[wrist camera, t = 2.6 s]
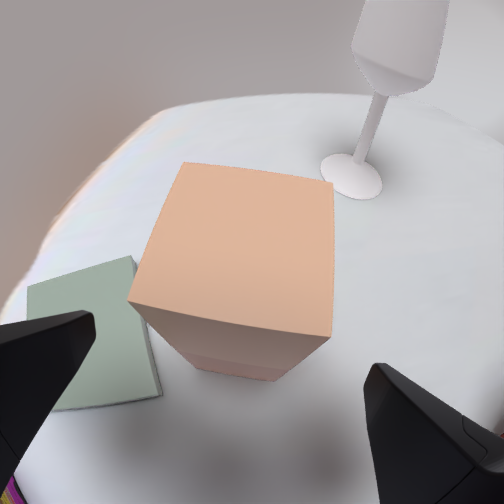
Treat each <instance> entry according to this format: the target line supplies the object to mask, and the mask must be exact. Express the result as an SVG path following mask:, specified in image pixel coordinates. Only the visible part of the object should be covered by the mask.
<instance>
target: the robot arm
mask: <svg viewBox="0 0 504 504" xmlns="http://www.w3.org/2000/svg"><path fill="white" fill-rule="evenodd" d="M95 340H96V327H95V319H94V315H93V313H92V312H89V311H86V310H78V311H73V312H68V313H63V314H58V315H53V316H47V317H42V318H37V319H32V320H26V321H21V322H16V323H10V324H5V325H0V498H1V496H2V494H3V492H4V490H5V488H6V487H7V485H8V483H9V481H10V479H11V477H12V475H13V473H14V472H15V470H16V468H17V466H18V464H19V463H20V460H21V459H22V457H23V455H24V454H25V452H26V450H27V449H28V447H29V445H30V444H31V442H32V440H33V439H34V437H35V435H36V434H37V432H38V430H39V429H40V427H41V426H42V424H43V423H44V421H45V419H46V418H47V416H48V415H49V413H50V412H51V410H52V409H53V407H54V406H55V404H56V403H57V401H58V400H59V398H60V397H61V395H62V394H63V392H64V391H65V389H66V388H67V386H68V385H69V384H70V382H71V381H72V379H73V378H74V376H75V375H76V373H77V372H78V370H79V368H80V367H81V365H82V363H83V361H84V359H85V358H86V356H87V354H88V352H89V351H90V349H91V347H92V345H93V344H94V342H95ZM363 391H364V401H365V411H366V423H367V430H368V436H369V441H370V446H371V451H372V457H373V462H374V468H375V474H376V480H377V487H378V493H379V500H380V504H504V438H502V437H500V436H498V435H496V434H494V433H492V432H490V431H489V430H487V429H485V428H483V427H482V426H480V425H478V424H477V423H475V422H473V421H472V420H470V419H469V418H467V417H466V416H464V415H462V414H461V413H460V412H458V411H456V410H455V409H453V408H452V407H450V406H449V405H447V404H446V403H444V402H443V401H441V400H440V399H438V398H437V397H435V396H434V395H432V394H431V393H429V392H428V391H426V390H425V389H423V388H422V387H420V386H419V385H417V384H416V383H414V382H413V381H411V380H410V379H408V378H407V377H406V376H404V375H403V374H401V373H400V372H398V371H397V370H395V369H394V368H392V367H391V366H389V365H388V364H386V363H374V364H373V365H372V367H371V369H370V371H369V374H368V376H367V378H366V381H365V383H364V387H363Z"/></svg>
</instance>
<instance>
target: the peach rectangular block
mask: <svg viewBox="0 0 504 504" xmlns="http://www.w3.org/2000/svg"><path fill="white" fill-rule="evenodd" d="M333 296H334V193H333V183H331V182H326V181H321V180H316V179H310V178H304V177H299V176H293V175H286V174H280V173H274V172H267V171H260V170H252V169H245V168H237V167H228V166H220V165H210V164H200V163H189V162H183V164H182V166H181V168H180V170H179V172H178V174H177V176H176V178H175V180H174V183H173V185H172V187H171V189H170V191H169V194H168V196H167V198H166V200H165V202H164V205H163V207H162V209H161V212H160V214H159V216H158V219H157V221H156V223H155V226H154V228H153V231H152V233H151V236H150V238H149V241H148V243H147V246H146V248H145V251H144V253H143V256H142V259H141V261H140V264H139V267H138V269H137V272H136V275H135V278H134V280H133V283H132V286H131V289H130V292H129V295H128V298H127V301H128V303H129V304H130V305H131V306H132V307H133V308H134V309H135V310H136V311H137V312H138V313H139V314H140V315H141V316H142V317H143V318H144V319H145V320H146V321H147V322H148V323H149V324H150V325H151V326H152V327H153V328H154V329H155V330H156V331H157V332H158V333H159V334H160V335H161V336H162V337H163V338H164V339H165V340H166V341H167V342H168V343H169V344H170V345H171V346H172V347H173V348H174V349H175V350H176V351H177V352H179V353H180V354H181V355H182V356H183V357H184V358H185V359H186V360H187V361H188V362H190V363H191V364H192V365H193V366H194V367H195V368H198V369H202V370H207V371H212V372H217V373H222V374H227V375H233V376H239V377H245V378H251V379H257V380H264V381H272V382H274V381H276V380H277V379H278V378H280V377H281V376H283V375H284V374H285V373H287V372H288V371H289V370H291V369H292V368H293V367H295V366H296V365H297V364H298V363H300V362H301V361H302V360H304V359H305V358H306V357H307V356H309V355H310V354H311V353H312V352H314V351H315V350H316V349H317V348H319V347H320V346H321V345H322V344H324V343H325V342H326V341H327V340H328V339H330V338H331V334H332V317H333Z"/></svg>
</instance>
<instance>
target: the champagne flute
mask: <svg viewBox="0 0 504 504" xmlns="http://www.w3.org/2000/svg"><path fill="white" fill-rule="evenodd" d="M448 6H449V0H366V1H365V3H364V7H363V10H362V13H361V16H360V19H359V22H358V25H357V28H356V31H355V34H354V37H353V40H352V43H351V50H352V53H353V57H354V59H355V61H356V63H357V66H358V67H359V69H360V70H361V72H362V73H363V75H364V76H365V78H366V79H367V81H368V83H369V84H370V85H371V86H372V87H373V88H374V89H375V90H376V91H375V94H374V97H373V100H372V103H371V106H370V109H369V112H368V115H367V118H366V121H365V124H364V127H363V130H362V133H361V135H360V138H359V141H358V144H357V147H356V149H355V152H354V155H349V154H341V153H339V154H333V155H329V156H328V157H326V158H325V159H324V160H323V161H322V163H321V167H320V168H321V174H322V176H323V178H324V179H325V181H326V182H331V183H333V189H334V190H336V191H337V192H339V193H341V194H343V195H345V196H347V197H350V198H354V199H360V200H367V199H372V198H374V197H376V196H377V195H379V193H380V192H381V190H382V180H381V177H380V175H379V174H378V172H377V171H376V170H375V169H374V168H373V167H372V166H371V165H370V164H369V163H367V162H366V161H364V160H365V158H366V155H367V153H368V150H369V148H370V145H371V143H372V140H373V138H374V135H375V132H376V130H377V127H378V125H379V122H380V119H381V116H382V114H383V111H384V108H385V105H386V103H387V100H388V97H389V96H399V95H402V94H405V93H410V92H414V91H417V90H419V89H421V88H423V87H425V86H426V85H427V84H429V83H430V82H431V81H432V79H433V78H434V74H435V70H436V66H437V62H438V58H439V54H440V49H441V45H442V40H443V35H444V29H445V25H446V18H447V13H448Z"/></svg>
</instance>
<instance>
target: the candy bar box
mask: <svg viewBox="0 0 504 504" xmlns="http://www.w3.org/2000/svg"><path fill="white" fill-rule="evenodd" d="M0 504H26V502H25V500H24V499H23V497H22V495H21V493H20V491H19V489H18V487H17V485H16V483H15V481H14V478H13V476H12V477H11V479H10V481H9V483H8V485H7V487H6V488H5V490H4V492H3V494H2V496H1V498H0Z"/></svg>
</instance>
